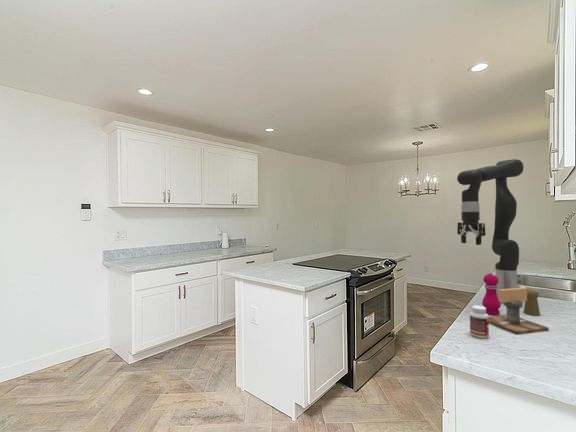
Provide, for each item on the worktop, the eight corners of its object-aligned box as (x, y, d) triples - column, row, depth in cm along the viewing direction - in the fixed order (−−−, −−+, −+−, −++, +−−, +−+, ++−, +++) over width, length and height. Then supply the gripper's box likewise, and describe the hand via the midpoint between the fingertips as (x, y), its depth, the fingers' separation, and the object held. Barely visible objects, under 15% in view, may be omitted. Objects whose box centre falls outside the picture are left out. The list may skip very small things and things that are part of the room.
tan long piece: (494, 304, 127) (493, 286, 127) (517, 302, 129) (517, 285, 129) (507, 309, 121) (507, 290, 121) (532, 306, 123) (532, 288, 123)
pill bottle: (491, 339, 112) (490, 310, 111) (472, 337, 113) (472, 309, 113) (485, 333, 117) (485, 305, 117) (468, 331, 119) (467, 304, 119)
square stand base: (510, 317, 134) (510, 299, 134) (548, 330, 119) (548, 310, 119) (481, 320, 131) (481, 302, 131) (516, 334, 115) (515, 314, 115)
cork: (526, 315, 136) (525, 291, 136) (521, 311, 142) (521, 288, 142) (542, 316, 134) (542, 292, 134) (537, 312, 140) (536, 289, 140)
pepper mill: (495, 311, 143) (494, 269, 143) (504, 316, 136) (503, 272, 136) (479, 310, 144) (478, 269, 144) (487, 315, 137) (487, 272, 136)
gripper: (452, 211, 151) (453, 243, 151) (476, 210, 137) (477, 245, 137) (464, 211, 153) (465, 242, 153) (489, 210, 139) (490, 245, 139)
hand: (471, 244), depth 145 cm, fingers open, 8 cm apart
